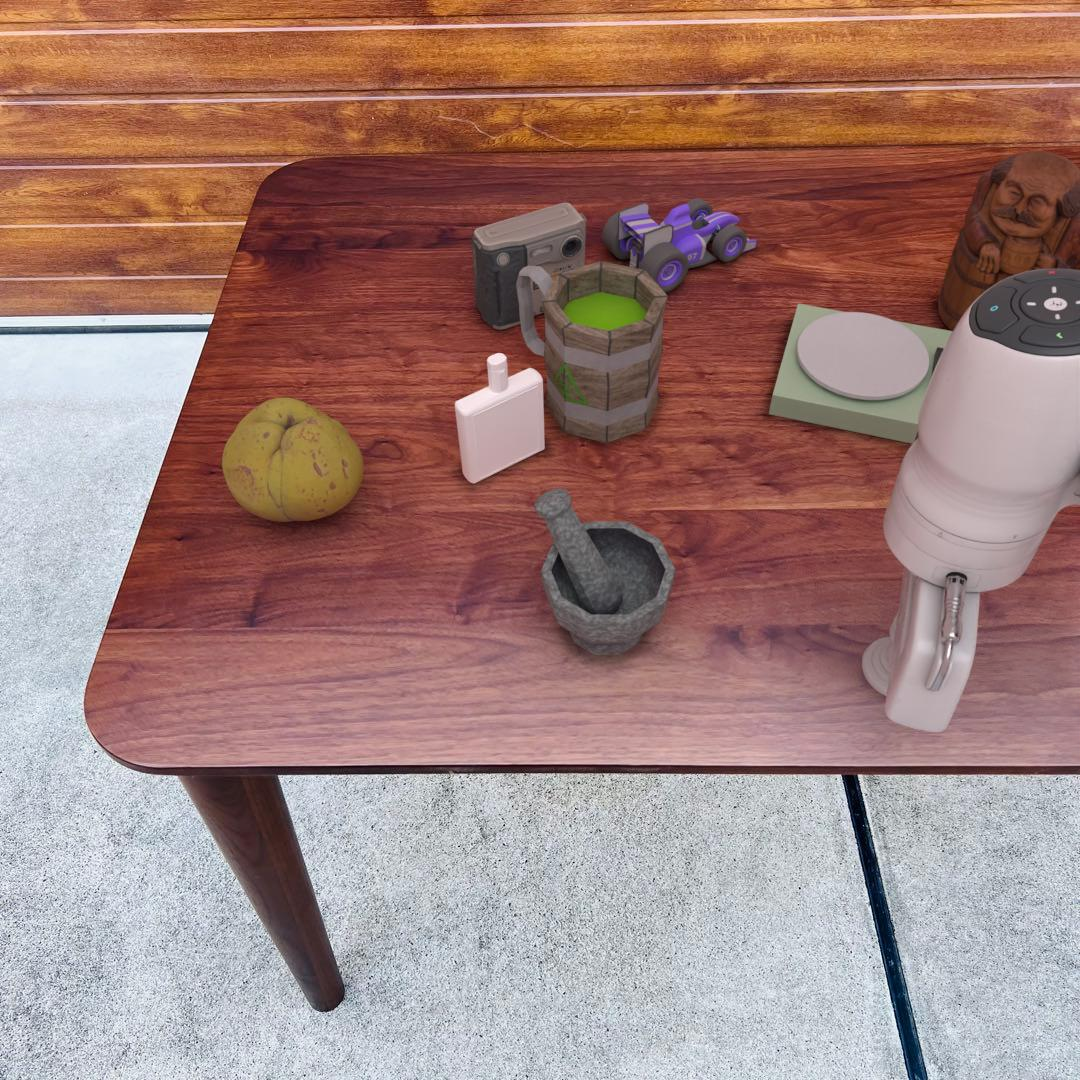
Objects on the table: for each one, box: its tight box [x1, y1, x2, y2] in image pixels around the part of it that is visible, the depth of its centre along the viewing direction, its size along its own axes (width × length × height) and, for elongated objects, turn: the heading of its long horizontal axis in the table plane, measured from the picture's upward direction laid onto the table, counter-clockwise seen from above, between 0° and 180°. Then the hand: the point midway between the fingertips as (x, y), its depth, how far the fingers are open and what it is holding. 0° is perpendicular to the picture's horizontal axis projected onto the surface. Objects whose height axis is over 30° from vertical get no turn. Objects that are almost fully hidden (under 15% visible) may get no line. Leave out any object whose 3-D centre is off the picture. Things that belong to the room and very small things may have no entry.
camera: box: [470, 202, 588, 331], centre depth 101 cm, size 11×6×10 cm, turn 114°
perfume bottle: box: [454, 352, 546, 485], centre depth 86 cm, size 8×2×12 cm, turn 123°
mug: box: [516, 260, 669, 444], centre depth 92 cm, size 16×11×12 cm
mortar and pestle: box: [533, 488, 676, 656], centre depth 75 cm, size 11×9×12 cm
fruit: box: [221, 397, 365, 523], centre depth 84 cm, size 11×12×10 cm
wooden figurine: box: [937, 150, 1080, 331], centre depth 94 cm, size 12×6×18 cm, turn 54°
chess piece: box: [861, 613, 898, 697], centre depth 70 cm, size 5×5×9 cm
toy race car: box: [601, 197, 758, 294], centre depth 107 cm, size 10×15×6 cm, turn 120°
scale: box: [768, 303, 953, 445], centre depth 95 cm, size 15×14×4 cm
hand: (909, 645), depth 71 cm, fingers closed on chess piece, 3 cm apart
